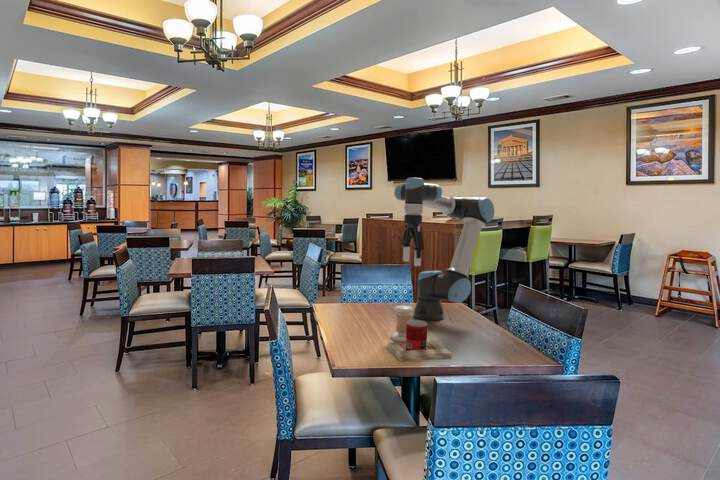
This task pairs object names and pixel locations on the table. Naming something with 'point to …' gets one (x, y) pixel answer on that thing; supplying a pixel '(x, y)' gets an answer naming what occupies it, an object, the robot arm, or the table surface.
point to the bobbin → (401, 322)
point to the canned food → (416, 335)
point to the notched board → (420, 352)
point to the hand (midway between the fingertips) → (411, 263)
